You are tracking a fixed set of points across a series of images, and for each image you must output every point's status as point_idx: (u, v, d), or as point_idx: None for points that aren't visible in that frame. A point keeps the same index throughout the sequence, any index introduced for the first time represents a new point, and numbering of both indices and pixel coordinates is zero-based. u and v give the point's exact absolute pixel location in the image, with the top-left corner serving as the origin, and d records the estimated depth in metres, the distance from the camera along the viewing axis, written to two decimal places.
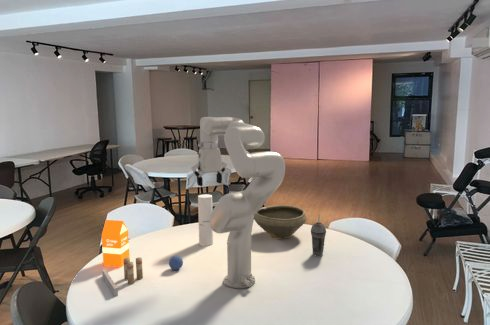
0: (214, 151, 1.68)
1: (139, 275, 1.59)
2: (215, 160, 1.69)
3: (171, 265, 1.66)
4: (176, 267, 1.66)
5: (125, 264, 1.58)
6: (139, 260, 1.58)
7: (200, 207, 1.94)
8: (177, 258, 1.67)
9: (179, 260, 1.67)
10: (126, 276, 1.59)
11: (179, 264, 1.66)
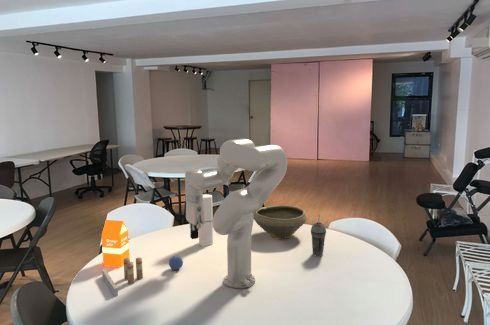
0: None
1: (139, 275, 1.59)
2: None
3: (171, 265, 1.66)
4: (176, 267, 1.66)
5: (125, 264, 1.58)
6: (139, 260, 1.58)
7: None
8: (177, 258, 1.67)
9: (179, 260, 1.67)
10: (126, 276, 1.59)
11: (179, 264, 1.66)
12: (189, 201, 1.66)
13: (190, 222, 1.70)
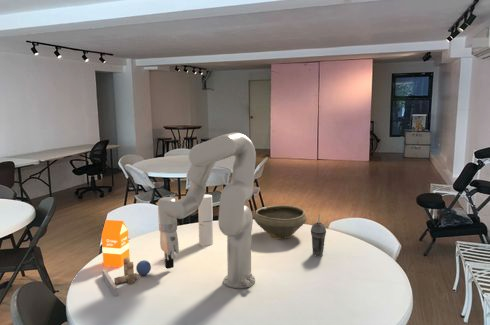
0: None
1: None
2: None
3: (145, 261, 1.64)
4: (142, 264, 1.61)
5: (125, 264, 1.58)
6: (116, 281, 1.55)
7: (200, 207, 1.94)
8: (149, 269, 1.63)
9: (147, 270, 1.62)
10: None
11: (144, 268, 1.61)
12: (162, 230, 1.61)
13: (164, 251, 1.65)
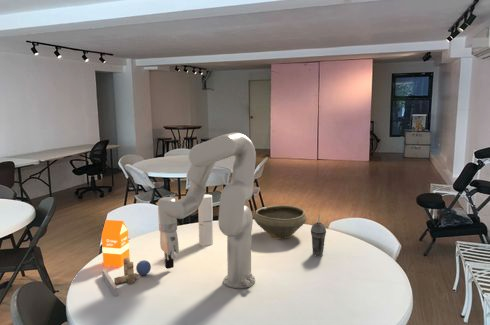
0: None
1: None
2: None
3: (145, 261, 1.64)
4: (142, 264, 1.62)
5: (125, 264, 1.58)
6: (116, 281, 1.55)
7: (200, 207, 1.94)
8: (149, 269, 1.63)
9: (147, 270, 1.62)
10: None
11: (144, 268, 1.61)
12: (162, 230, 1.61)
13: (164, 251, 1.65)
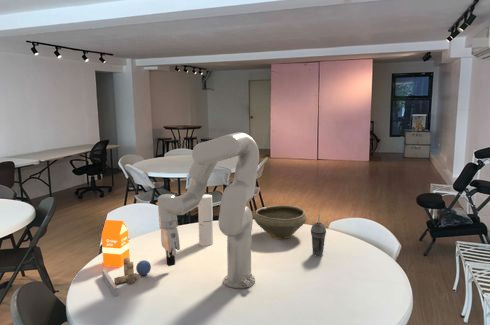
0: None
1: None
2: None
3: (145, 261, 1.64)
4: (142, 264, 1.62)
5: (125, 264, 1.58)
6: (116, 281, 1.55)
7: (200, 207, 1.94)
8: (149, 269, 1.63)
9: (147, 270, 1.62)
10: None
11: (144, 268, 1.61)
12: (163, 227, 1.61)
13: (165, 249, 1.64)
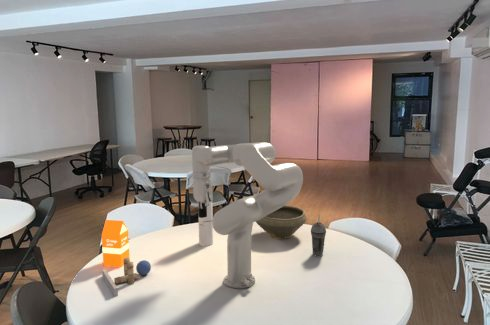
0: None
1: None
2: None
3: (145, 261, 1.64)
4: (142, 264, 1.62)
5: (125, 264, 1.58)
6: (116, 281, 1.55)
7: None
8: (149, 269, 1.63)
9: (147, 270, 1.62)
10: None
11: (144, 268, 1.61)
12: (197, 178, 1.61)
13: (198, 200, 1.65)
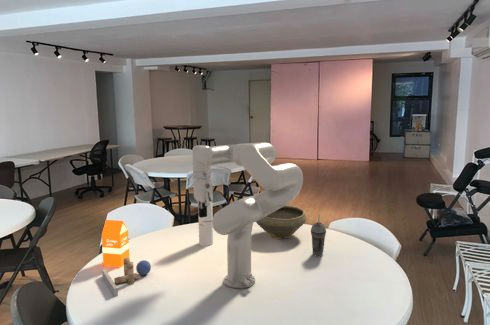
0: None
1: None
2: None
3: (145, 261, 1.64)
4: (142, 264, 1.62)
5: (125, 264, 1.58)
6: (116, 281, 1.55)
7: None
8: (149, 269, 1.63)
9: (147, 270, 1.62)
10: None
11: (144, 268, 1.61)
12: (197, 177, 1.61)
13: (198, 200, 1.65)
